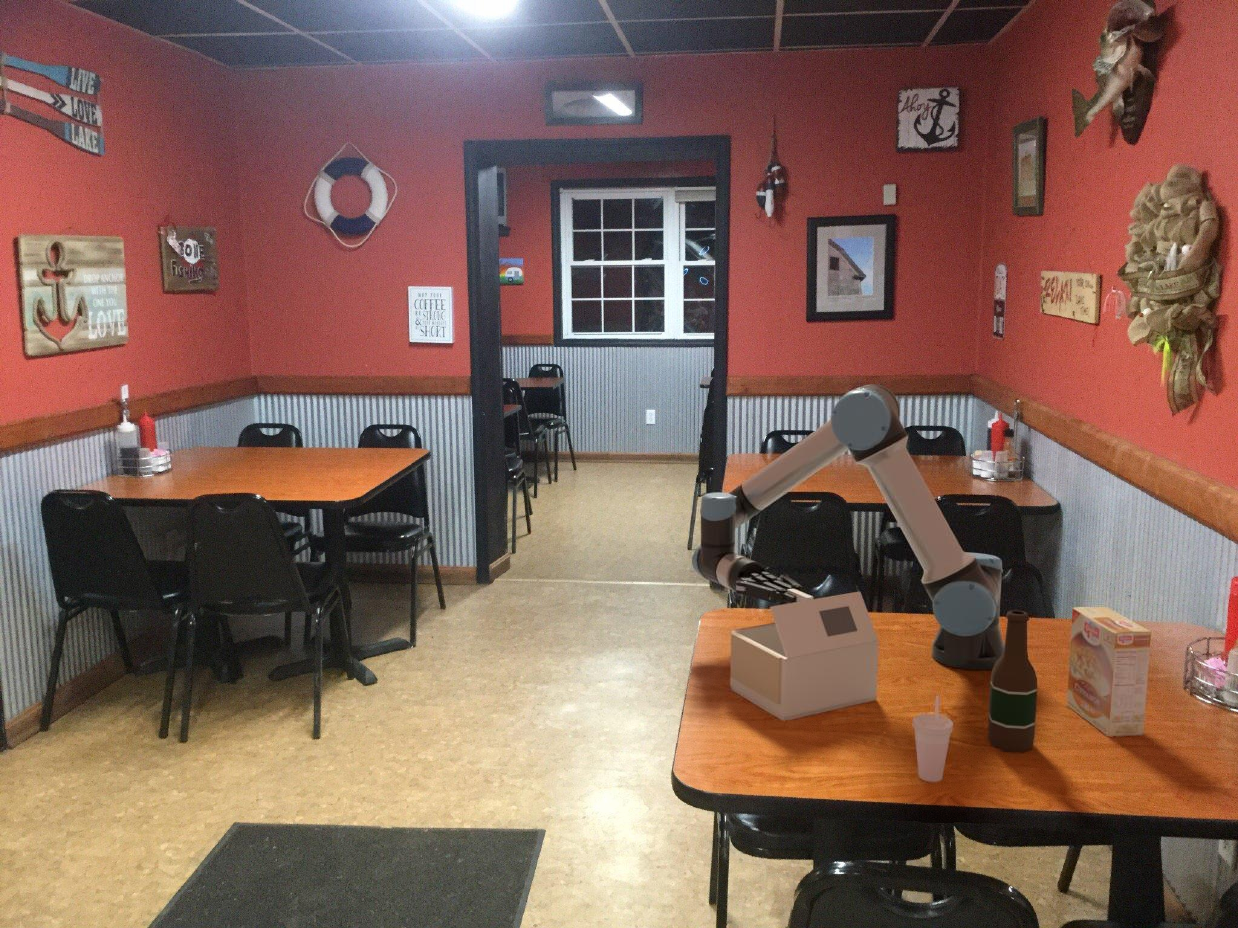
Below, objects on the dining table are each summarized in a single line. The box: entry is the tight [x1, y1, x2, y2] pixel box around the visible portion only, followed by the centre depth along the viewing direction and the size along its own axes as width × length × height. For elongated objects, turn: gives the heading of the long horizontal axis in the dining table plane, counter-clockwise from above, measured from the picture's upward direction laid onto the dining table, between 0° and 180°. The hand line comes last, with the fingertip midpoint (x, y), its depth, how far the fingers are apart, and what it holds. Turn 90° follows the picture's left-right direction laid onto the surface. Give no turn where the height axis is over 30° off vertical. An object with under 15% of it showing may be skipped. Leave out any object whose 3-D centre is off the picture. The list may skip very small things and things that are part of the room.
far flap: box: [769, 591, 879, 659], centre depth 202 cm, size 10×21×1 cm
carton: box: [729, 622, 880, 722], centre depth 210 cm, size 19×23×12 cm
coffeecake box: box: [1065, 606, 1152, 738], centre depth 196 cm, size 15×7×20 cm, turn 5°
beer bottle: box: [987, 609, 1038, 754], centre depth 185 cm, size 8×8×24 cm
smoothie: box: [911, 694, 954, 783], centre depth 174 cm, size 6×6×14 cm
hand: (810, 604), depth 206 cm, fingers closed
